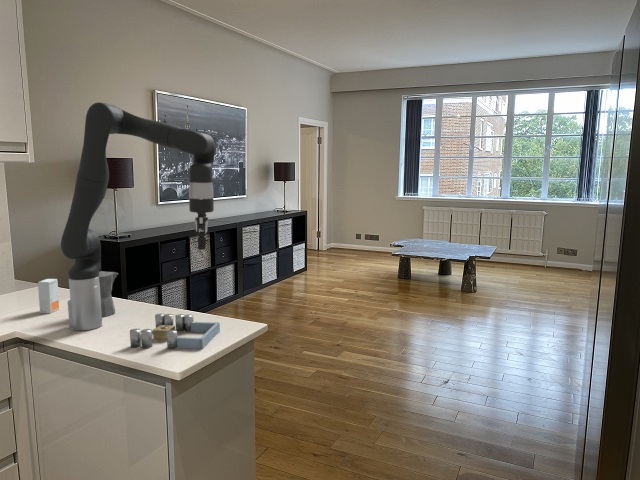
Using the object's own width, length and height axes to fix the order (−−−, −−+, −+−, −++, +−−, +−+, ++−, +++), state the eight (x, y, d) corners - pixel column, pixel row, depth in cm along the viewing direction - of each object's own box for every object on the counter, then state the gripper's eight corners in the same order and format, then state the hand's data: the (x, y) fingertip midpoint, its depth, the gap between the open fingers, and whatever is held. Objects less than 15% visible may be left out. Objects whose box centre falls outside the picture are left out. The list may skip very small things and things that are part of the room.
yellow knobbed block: (153, 340, 150) (153, 329, 150) (160, 335, 155) (159, 324, 155) (168, 341, 150) (168, 330, 149) (175, 336, 155) (174, 325, 154)
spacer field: (128, 347, 144) (127, 331, 143) (156, 327, 162) (156, 313, 162) (175, 349, 142) (174, 333, 141) (198, 329, 161) (197, 314, 160)
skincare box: (51, 313, 179) (48, 282, 177) (39, 313, 179) (37, 282, 177) (60, 309, 185) (57, 278, 183) (49, 308, 185) (46, 278, 183)
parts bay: (172, 347, 144) (172, 337, 143) (192, 330, 160) (191, 321, 159) (203, 348, 143) (202, 339, 142) (219, 331, 159) (219, 322, 158)
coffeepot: (117, 308, 186) (114, 262, 184) (124, 313, 179) (122, 266, 176) (73, 315, 176) (69, 267, 174) (79, 321, 169) (76, 271, 167)
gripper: (190, 195, 158) (191, 244, 160) (187, 198, 144) (188, 251, 147) (213, 195, 160) (214, 243, 162) (213, 198, 146) (214, 250, 148)
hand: (202, 247), depth 154 cm, fingers open, 8 cm apart
